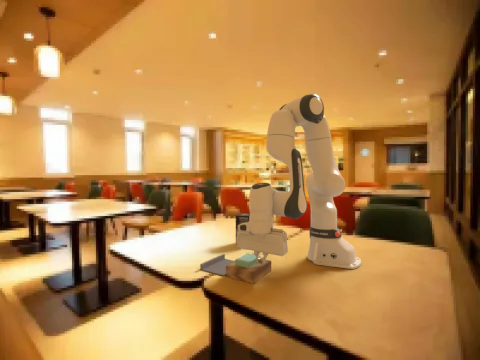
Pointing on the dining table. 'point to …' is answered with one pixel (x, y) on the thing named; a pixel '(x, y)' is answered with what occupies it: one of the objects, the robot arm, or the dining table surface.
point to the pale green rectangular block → (246, 261)
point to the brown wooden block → (248, 271)
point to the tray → (216, 265)
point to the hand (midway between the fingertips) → (261, 263)
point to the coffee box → (241, 221)
